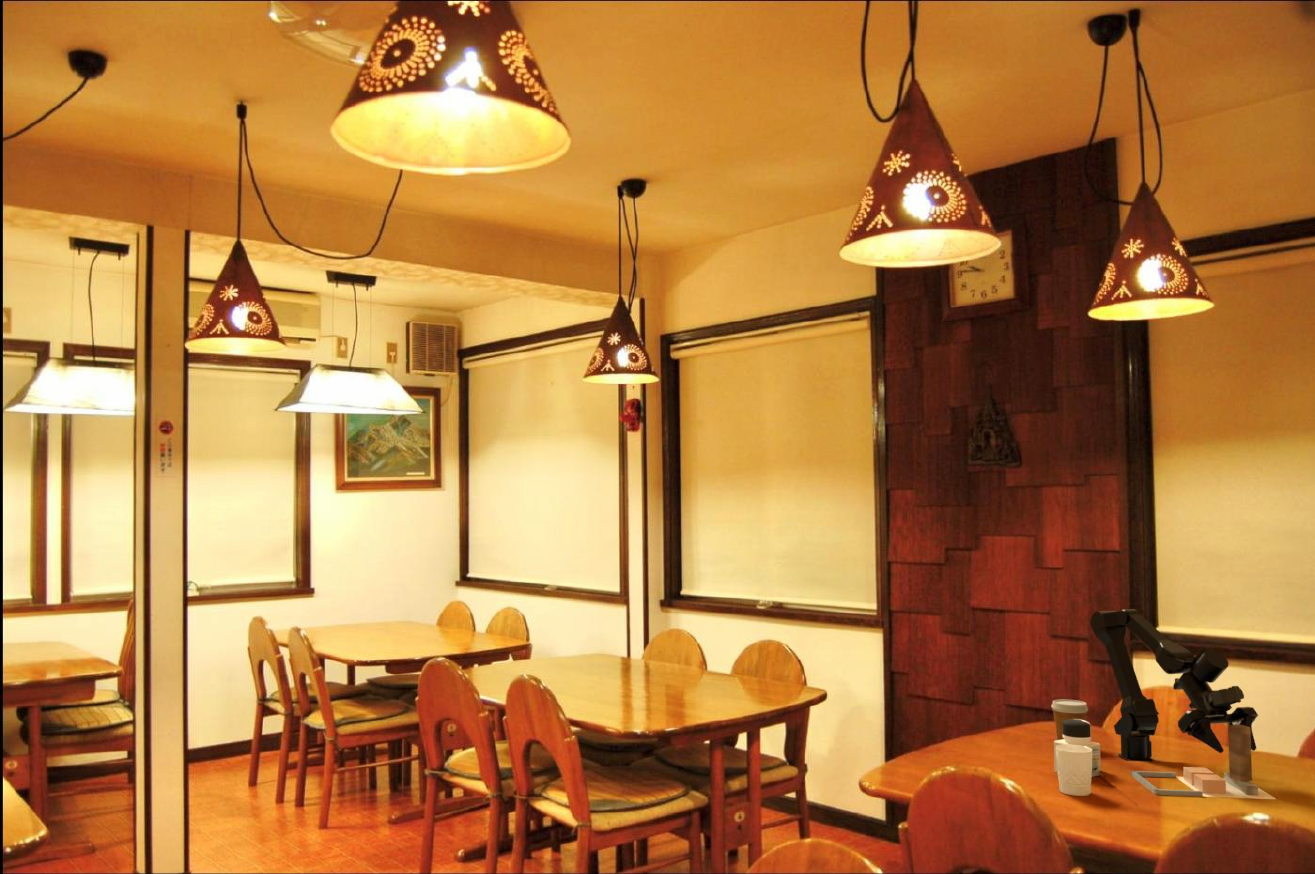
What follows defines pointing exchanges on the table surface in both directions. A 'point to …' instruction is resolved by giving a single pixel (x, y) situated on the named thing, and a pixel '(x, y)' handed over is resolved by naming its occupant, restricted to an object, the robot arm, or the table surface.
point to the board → (1231, 792)
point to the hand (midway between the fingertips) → (1238, 750)
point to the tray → (1139, 776)
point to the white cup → (1074, 769)
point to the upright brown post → (1240, 760)
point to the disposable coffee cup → (1067, 713)
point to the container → (1079, 741)
